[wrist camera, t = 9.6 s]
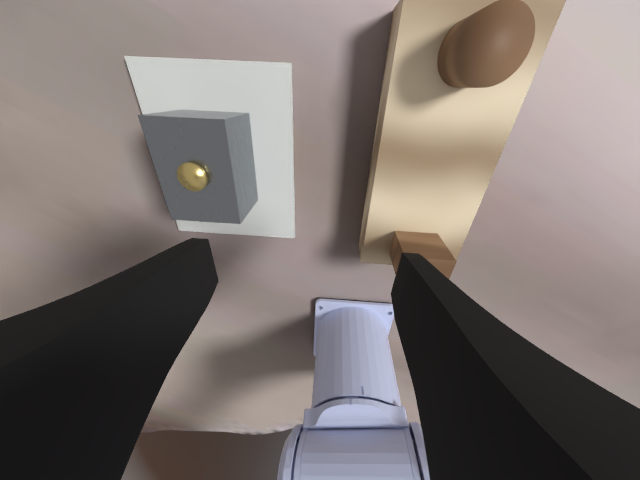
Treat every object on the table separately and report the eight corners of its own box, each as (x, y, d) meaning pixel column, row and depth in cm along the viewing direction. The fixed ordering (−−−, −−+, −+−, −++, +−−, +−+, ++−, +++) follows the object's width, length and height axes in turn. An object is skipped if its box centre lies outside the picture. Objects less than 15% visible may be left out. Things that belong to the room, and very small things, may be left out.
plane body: (440, 250, 21) (472, 299, 16) (358, 244, 21) (364, 291, 16) (528, 14, 13) (645, -32, 8) (393, 10, 13) (426, -39, 8)
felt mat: (295, 235, 21) (294, 238, 20) (181, 228, 21) (179, 230, 21) (291, 63, 14) (290, 62, 14) (129, 56, 15) (124, 55, 14)
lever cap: (258, 199, 19) (238, 227, 15) (201, 196, 19) (167, 222, 15) (249, 112, 16) (221, 120, 12) (180, 109, 16) (132, 115, 12)
